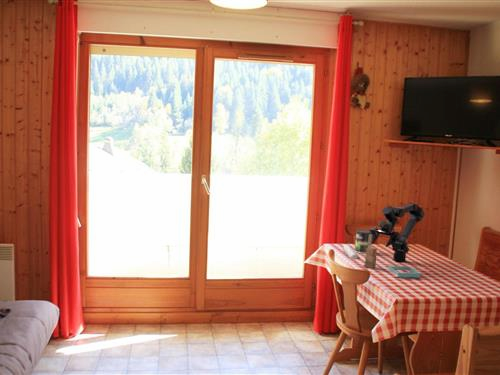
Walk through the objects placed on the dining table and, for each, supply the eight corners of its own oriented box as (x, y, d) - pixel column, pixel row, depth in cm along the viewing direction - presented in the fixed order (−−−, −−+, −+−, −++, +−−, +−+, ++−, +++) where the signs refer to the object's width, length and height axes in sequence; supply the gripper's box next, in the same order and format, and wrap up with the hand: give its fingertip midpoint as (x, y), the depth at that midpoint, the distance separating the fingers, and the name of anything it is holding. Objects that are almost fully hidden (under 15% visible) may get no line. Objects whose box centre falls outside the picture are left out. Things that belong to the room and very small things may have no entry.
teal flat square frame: (409, 271, 294) (410, 266, 294) (420, 278, 281) (420, 273, 281) (388, 271, 292) (388, 266, 292) (397, 278, 279) (398, 272, 279)
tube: (360, 255, 311) (352, 245, 336) (352, 252, 311) (344, 242, 336) (357, 263, 312) (348, 253, 337) (349, 260, 312) (341, 250, 337)
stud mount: (373, 267, 299) (374, 260, 298) (377, 271, 292) (378, 263, 291) (361, 267, 298) (362, 260, 297) (366, 271, 291) (366, 263, 290)
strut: (368, 265, 298) (370, 247, 297) (375, 267, 295) (376, 248, 293) (364, 266, 295) (366, 247, 293) (371, 268, 292) (372, 249, 290)
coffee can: (361, 254, 331) (362, 232, 329) (351, 250, 340) (353, 229, 339) (373, 253, 335) (375, 232, 334) (364, 249, 345) (365, 229, 343)
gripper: (372, 213, 307) (360, 233, 301) (400, 218, 294) (389, 239, 288) (378, 225, 314) (367, 245, 307) (406, 230, 301) (395, 251, 294)
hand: (379, 245), depth 299 cm, fingers open, 9 cm apart
